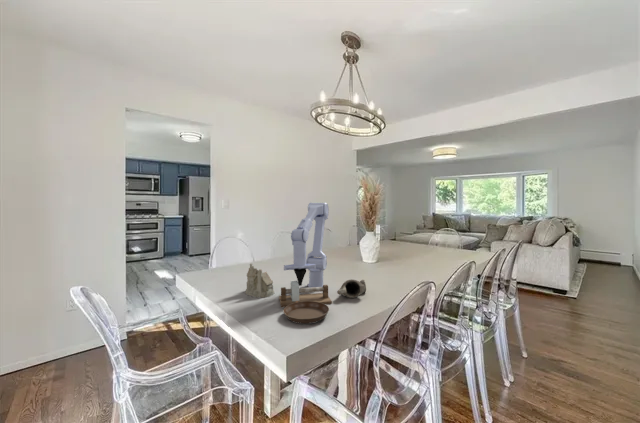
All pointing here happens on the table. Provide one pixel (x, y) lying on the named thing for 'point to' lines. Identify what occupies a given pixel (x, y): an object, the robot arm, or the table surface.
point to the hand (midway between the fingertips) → (299, 285)
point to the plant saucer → (306, 312)
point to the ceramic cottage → (259, 283)
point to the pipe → (352, 288)
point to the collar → (295, 291)
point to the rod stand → (305, 295)
